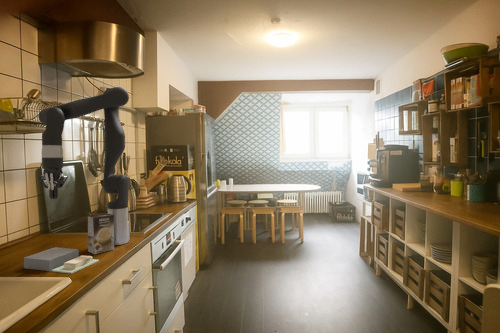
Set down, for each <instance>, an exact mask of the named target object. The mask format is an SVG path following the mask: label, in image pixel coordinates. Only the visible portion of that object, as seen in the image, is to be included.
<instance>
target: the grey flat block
mask: <svg viewBox="0 0 500 333" xmlns="http://www.w3.org/2000/svg"><path fill="white" fill-rule="evenodd" d="M79 256H80V254H79V249H78V248H68V247H67V248H65V247H57V246H56V247H51V248H49V249H45V250H42V251H40V252H37V253H34V254H31V255H27V256H25V257H23V269H27V270H28V269H29V270H35V271H36V270H37V271H38V270H39V271H45V272H52V270H53V269H55V268H58V267H60V266H62V265H64V263H65V262H67V261H70V260H72V259H75V258H77V257H79Z"/></svg>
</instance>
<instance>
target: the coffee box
mask: <svg viewBox="0 0 500 333" xmlns="http://www.w3.org/2000/svg"><path fill="white" fill-rule="evenodd" d="M114 250H115V245H114V215H113V214H108V213H101V214H93V215H88V216H87V252H88V253H91V254H93V255H97V254H100V253H101V254H102V253H105V252H106V253H107V252H109V251H114Z"/></svg>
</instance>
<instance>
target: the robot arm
mask: <svg viewBox="0 0 500 333" xmlns="http://www.w3.org/2000/svg"><path fill="white" fill-rule="evenodd" d="M129 99H130V95H129V93H128V90H126V89H125V88H123V87H121V86H120V87H119V86H115V87H110V88H107V89H105V90H104V92H103V93H102V94H98V95H96V96H95V95H94V96H91V97H86V98H80V99H77V100H73V101H68V102H65V103H63V104H59V105H55V106H51V107H46V108H42V110H40V111H39V112H38V120H39V121H40V122H41V124H43V125H45V130H44V131H43V132H42V134H41V168H42V169H43V171H42V172H43V173H42V174H41V175H39V176H38V179H39V180H40V182H41V184H42V185H43V187H44V188H45V189H48V192H49V193H48V194H49V199H51V200H55V199H58V195H59V189H61V188H63V186H64V185H65V183H66V182H67V181H68V179H69V178H68V175H64V172H63V168H64V149H63V132H64V128H65V121H67V120H73V119H78V118H81V117H84V116H86V115H90V114H92V113H94V112H98V111H100V110H103V116H104V166H103V167H104V168H103V169H104V170H103V180H102V185H103V190H104V192H105V193H106V194H108V195H111V194H112V195H115V194H116V195H117V198H115V199H114V200H111V201H109V202H108V203H107V214H113V215H114V246H118V245H125V244H128V243H129V241H131V239H130V236H131V235H130V221H129V201H130V200H129V199H130V197H129V196H130V180H129V177H128V175H127V174H115V172H116V171H115V170H116V166H117V164H118V162H119V160H120V158H121V156H122V155H123V154H124V151H125V149H126V148H125V147H126V134H125V130H124V128H123V125H122V124H121V122H120V121H121V120H120V116H119V114H120V112H119V110H120V107H123V106H125V105H127V104H128V102H129Z"/></svg>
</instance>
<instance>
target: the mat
mask: <svg viewBox="0 0 500 333" xmlns="http://www.w3.org/2000/svg"><path fill="white" fill-rule="evenodd" d="M99 262H100V260H99V259H94V258H93V261H92V262H90V263H88V264H86V265H84V266H81V267H79V268H77V269H67V268H64V265H62V266H60V267H58V268H55V269H53V270H51V272H52V273H53V272H54V273H64V274H74V273H76V272H78V271H81V270H83V269H85V268H87V267H90V266H91V265H93V264H96V263H99Z"/></svg>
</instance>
